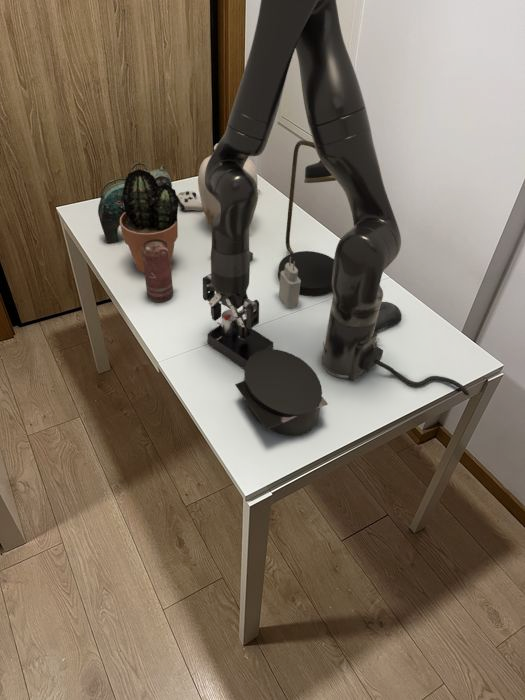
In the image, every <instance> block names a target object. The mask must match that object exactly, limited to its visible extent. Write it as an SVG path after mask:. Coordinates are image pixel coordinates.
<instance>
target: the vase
mask: <svg viewBox="0 0 525 700" xmlns="http://www.w3.org/2000/svg"><path fill="white" fill-rule="evenodd" d="M218 143H219V142H217V143H216V144H215V145H214V146H213V151H214V150H215V149H216V147H217V145H218ZM211 156H212V154H211V155H209V156H207V157H205V158H204V160H203V161H202V162H201V164H200V166H199V168H198V176H197V187H198V193H199V198H200V203H202V207H203V210H202V211H203V213H204V216H205V218H206V220H207V222H208V224H209V226H210V228H211V227H212V220H213V218H214V216H215V215H216V214H217V213H219V212H221V207H220V203H219V202H218V201H217V200H216V199H215V198H214V197H213V196H212V195H211V194H210V193H209V191H208V190H207V188H206V185H205V170H206V167H207V164H208V161H209V159H210V157H211ZM243 169H245V170H246V171H247V172H248V173H249V174H250V175H251V176H252V177H253V178H254V180H255V182H256V184H257V185H258V173H257V168H256V166H255V164H254V162H253V161H252V160H251V159H250V157H248V159H247V160H246V162H245V164H244V167H243Z"/></svg>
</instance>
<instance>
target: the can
mask: <svg viewBox="0 0 525 700" xmlns="http://www.w3.org/2000/svg"><path fill="white" fill-rule="evenodd" d="M142 258H143V266H144V272H143V273H144V281H145V288H146V295H147V297H148V299H149V300H150V301H152V302H154V303H165V302H168V301H170V300H171V298H172V297H173V296H174V286H173V284H174V283H173V274H172V263H171V262H170V251H169V246H168V245H167V243H166V242H165V241H163V240H160V239H152V240H148V241H146V242H145V243H144V244H143V247H142Z"/></svg>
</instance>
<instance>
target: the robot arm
mask: <svg viewBox="0 0 525 700" xmlns="http://www.w3.org/2000/svg"><path fill="white" fill-rule="evenodd" d="M258 10H259V11H258V16H257V22H256V26H255V30H254V33H253V39H252V43H251V47H250V50H249V54H248V58H247V61H246V65H245V67H244V70H243V73H242V76H241V79H240V83H239V86H238V89H237V91H236V95H235V98H234V101H233V104H232V108H231V110H230V115H229V118H228V121H227V125H226V128H225V131H224V133H223V136H222V137H221V138H220V140H219V141H218V142H217V143H218V145H217V147H216V149H215V150H214V149H213V152H212V154H211V155H212V156H211V155H210V156H211V157H210V159H209V161H208V164H207V167H206V170H205V185H206V188H207V190H208V191H209V193H210V194H211V195H212V196H213V197H214V198H215V199H216V200H217V201H218V202H219V203H220V207H221V212H219V213H217V214H216V215H215V216H214V218H213V220H212V227H211V226H210V228H211V229H210V231H211V233H210V234H211V248H210V249H211V250H210V273H209V274H207V275H206V276H204V277H203V278H202V299H203V300H204V301H206V302H208V305H209V306H210V315H211V320H212V321H214V322H216V321H217V320H219V319H221V318H222V305H223V306H224V307H226V308H228V310H231V311H232V313H233V315H234V317H235V318H237V319H238V321H239V323H240V336H239V337H240V338H241V339H244V338H246V337H247V336H249V335H250V329H251V328H252V329H254V327H256V326H257V325H258V324H259V323H260V302H259V300H258V299H254V300H252V299H249V297H248V293H247V291H248V288H249V287H250V273H251V272H250V271H251V261H250V252H251V251H250V235H251V234H250V233H251V232H250V230H251V229H250V227H251V224H252V221H253V218H254V216H255V212H256V209H257V206H258V201H259V191H258V190H259V189H258V183H257V184H256V182H255V180H254V178H253V177H252V176H251V175H250V174H249V173H248V172H247V171H246V170H245V169H243V167H244V164H245V162H246V160H247V159H248V158H250V157H258V156H260V155H262V153H263V152H264V151H265V149H266V147H267V144H268V141H269V138H270V135H271V132H272V129H273V127H274V124H275V121H276V119H277V115H278V112H279V109H280V106H281V101H282V98H283V94H284V89H285V86H286V81H287V77H288V72H289V69H290V66H291V63H292V59H293V57H294V53H295V52H296V56H297V60H298V66H299V67H298V68H299V74H300V83H301V91H302V98H303V106H304V110H305V115H306V120H307V124H308V128H309V131H310V134H311V139H312V142H314V145H315V148H314V149H315V151H316V154H317V156H318V158H319V161H320V160H321V161H322V163H323V164H324V166H325V167H326V168H327V170H328V171H329V172H330V173H331V175H332V176H333V177H334V178H335V179H336V182H337V183H338V185H340V187H341V188H342V190H343V191H344V194H345V196H346V198H347V201H348V205H349V208H350V213H351V216H352V222H353V227H352V228H351V229H349V231H347V232H346V233H345V234H344V235H343V236H341V238H340V239H339V240H338V243H337V245H336V247H335V251H334V257H333V259H334V265H333V273H332V289H333V292H332V293H333V294H332V300H331V306H330V311H329V318H328V322H327V328H326V334H325V340H324V341H323V342H322V349H323V350H322V355H321V360H320V361H321V365H322V367H323V369H324V370H325V371H326V372H327V373H328V374H329V375H331V376H333V377H335V378H338V379H343V380H344V379H345V380H349V381H351V382H354V381H355V380H356V379H357V378H359V377H360V376H361V375H363V373H364V372H366V373H369V371H371V370H372V369H373V368H374V367H375V366H376V365H378V366H379V367H381V368H383V369H384V370H386V371H388V372H390V373H391V374H392V375H393V376H395V377H396V378H398V379H399V380H400V381H402V382H403V383H405V384H407V385H409V386H412V387H423V386H425V385H426V384H428V383H430V382H432V381H440V382H445V383H448V384H450V385H453V386H455V387H456V388H457V389H459V390H460V391H461V392H462V393H463V394H464V395H465V396H470V392H469V390H467V389H466V387H465V386H464V385H463V384H461V383H460V382H458V381H456V380H454V379H452V378H449V377H445V376H440V375H431V376H428V377H426V378H424V379H423V380H421V381H414V380H413V381H412V380H410V379H408V377H406V376H404V375H403V374H401V373H400V372H398V371H397V370H396V369H395V368H393V367H392V366H390V365H389V364H386V363H385V362H383V361H381V360H382V357H383V353H384V349H382V348H381V347H379V346H377V345H376V344H375V342H376V338H378V333H377V332H374V330H375V326H376V322H377V318H378V314H379V310H380V306H381V303H382V302H383V299H384V290H383V288H382V286H381V280H382V277H383V273H384V271H385V270H386V269H387V268H388V267H389V266H390V265H391V264H392V263H393V262H394V260H396V258H397V257H398V255H399V253H400V251H401V248H402V236H401V232H400V228H399V225H398V222H397V219H396V216H395V213H394V210H393V208H392V204H391V201H390V199H389V197H388V194H387V191H386V188H385V185H384V180H383V176H382V171H381V166H380V164H379V160H378V154H377V151H376V147H375V144H374V139H373V134H372V133H373V132H372V129H371V123H370V119H369V116H368V115H369V114H368V110H367V106H366V102H365V99H364V95H363V92H362V90H361V89H362V88H361V86H360V83H359V80H358V76H357V73H356V70H355V68H354V66H353V63H352V60H351V57H350V55H349V52H348V49H347V47H346V43H345V40H344V36H343V33H342V29H341V22H340V17H339V10H338V5H337V0H260V4H259V9H258ZM241 307H242V309H241V310H239V311H238V309H240V308H241ZM243 316H244V317H245V319H244V317H243Z"/></svg>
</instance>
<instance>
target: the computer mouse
mask: <svg viewBox="0 0 525 700" xmlns="http://www.w3.org/2000/svg"><path fill="white" fill-rule="evenodd" d="M401 320H402V312H401V309H400V308H399V306H397V305H396V304H394V303H392V302H389V301H382V303H381V306H380V310H379V314H378V318H377V322H376V326H375V330H374V332H375V333H377V332H379V331H381V330H384V329H386V328H389V327H393V326H395V325H397V324H398V323H400V322H401ZM379 340H380V338H379V337H377V338H376V342H375V345H377V343H378V341H379Z"/></svg>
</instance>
